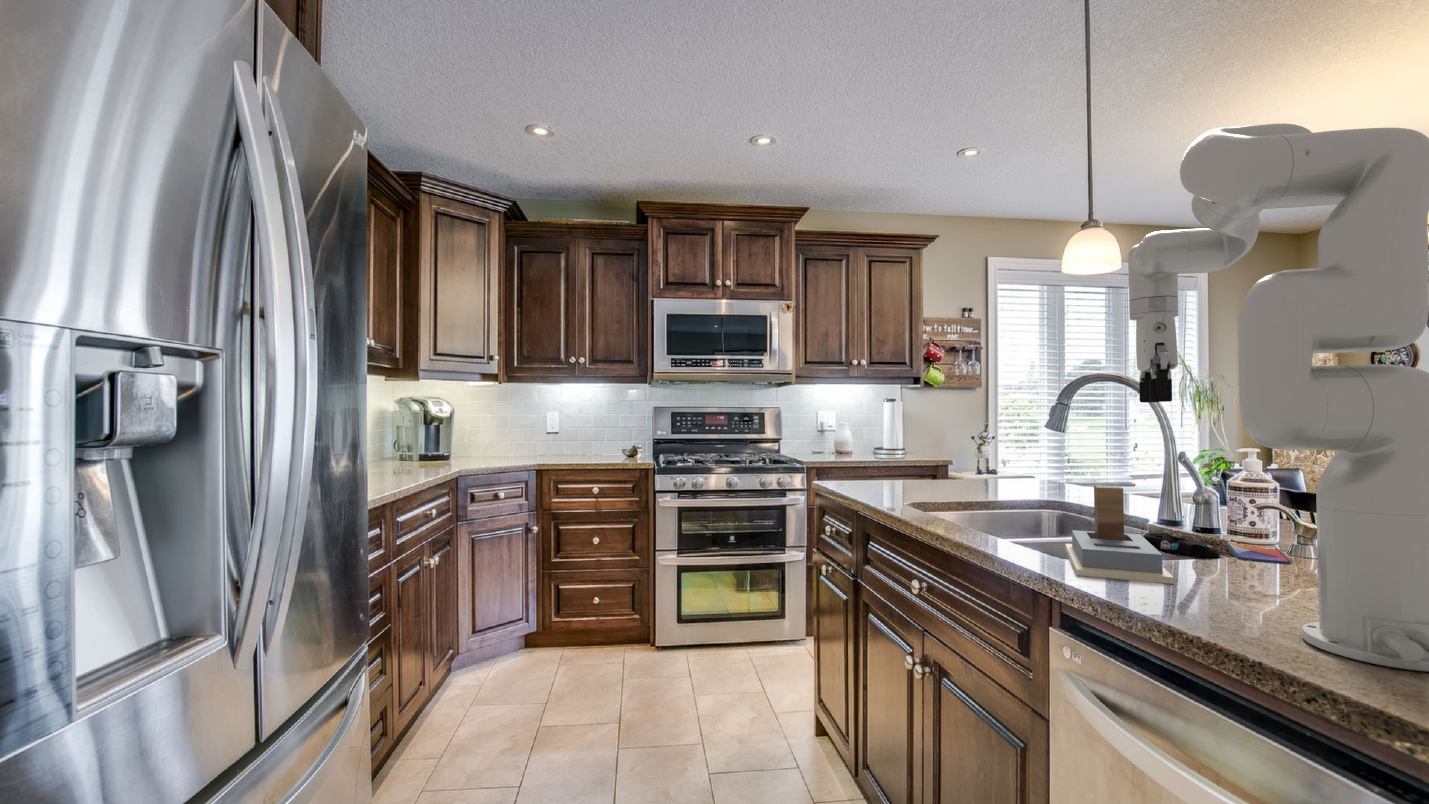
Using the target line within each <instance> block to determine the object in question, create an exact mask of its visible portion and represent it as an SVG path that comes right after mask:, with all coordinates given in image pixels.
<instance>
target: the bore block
mask: <svg viewBox="0 0 1429 804" xmlns="http://www.w3.org/2000/svg"><path fill="white" fill-rule="evenodd" d="M1142 535H1143V534H1140V533H1139V534H1137V533H1125V532H1124V541H1120V540H1105V539H1095V531H1088V530H1076V529H1075V530H1074V529H1071V541H1072V542H1071V543H1065V544H1064V545H1065V546H1064V547H1065V551H1066V553H1067V556H1068V558H1069V561H1070V562H1071V565H1072V568H1073V570H1074V572H1075V575H1076V576H1077V577H1078V576H1079V577H1080V576H1081V577H1088V578H1089V577H1092V578H1102V579H1103V578H1104V579H1113V580H1116V579H1117V580H1125V581H1137V582H1149V583H1160V584H1170V585H1172V584H1173V585H1174V583H1175V582H1174V580H1175V579H1174V576H1173V575H1172V574H1171V573H1170V572H1169V571H1168V570H1166V568H1165V567H1164V566H1163V553H1161V552H1160V550H1159V549H1156V548H1155V547H1154V546H1152V545H1151V544H1150V543H1149V542H1148V541H1147V540H1146V539H1145V538H1144V537H1143V536H1142Z"/></svg>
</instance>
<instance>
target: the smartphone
mask: <svg viewBox="0 0 1429 804" xmlns="http://www.w3.org/2000/svg"><path fill="white" fill-rule="evenodd" d="M1230 541H1231V540H1227V541H1225V546H1226V547H1227V549H1228V550H1229V551H1230V552H1231V553H1232V555H1233V556H1234V557H1235V558H1236V559H1237V560H1240V561H1247V560H1252V561H1251V562H1259V563H1261V562H1262V563H1263V562H1264V563H1265V562H1266V563H1268V564H1269V563H1273V564H1282V565H1283V564H1284V565H1290V564H1292V561H1291V559H1290V558H1289V557H1287V555H1286V554H1285V553H1283V552H1282V551H1281V550H1280V549H1279V548H1277V547H1276V548H1275V549H1264V548H1254V547H1249V546H1244V545H1240V544H1237V543H1234V542H1230Z"/></svg>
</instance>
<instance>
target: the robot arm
mask: <svg viewBox="0 0 1429 804" xmlns="http://www.w3.org/2000/svg"><path fill="white" fill-rule="evenodd" d="M1179 178H1180V182H1181V185H1182V187H1183V188H1184V189H1185V191H1187V192H1188V193H1190V194H1191V195H1193V197H1192V199H1191V210H1192V213H1193V215H1194V217H1195V219H1196V220H1197V221H1198V222H1199V223H1200V224H1201V225H1203V226H1204V227H1205V228H1189V229H1188V228H1185V229H1173V230H1172V229H1171V230H1159V231H1158V230H1157V231H1153V232H1151V233H1148V234H1146V235H1145V236H1144V237H1142V239H1141V240H1140V242H1139V243H1138V244H1136V245H1133V247H1131V248H1130V250H1129V251H1128V255H1127V256H1128V258H1127V259H1128V260H1127V263H1128V266H1127V267H1128V304H1129V305H1128V308H1129V309H1128V313H1129V314H1128V315H1129V316H1128V317H1129V318H1128V319H1129V320H1130V321H1135V322H1136V323H1135V326H1136V327H1135V346H1136V347H1135V348H1136V351H1135V352H1136V353H1135V354H1136V367H1137V370H1139V371H1140V373H1139V382H1138V383H1139V384H1138V386H1139V389H1138V390H1139V393H1138V395H1139V402H1140V403H1162V402H1163V403H1164V402H1166V403H1167V402H1168V403H1169V402H1172V400H1173V380H1172V371H1171V370H1174V369H1176V368H1177V367H1178V365H1179V355H1178V342H1177V329H1176V323H1175V317H1176V318H1177V317H1178V316H1179V282H1178V281H1179V277H1178V275H1179V274H1180V275H1181V274H1182V275H1183V274H1204V273H1205V274H1209V273H1216V272H1219V271H1222V270H1225V269H1227V268H1229V267H1231V266H1232V265H1234V264H1235V263H1236V262H1238V261H1239V260H1241V258H1242V257H1244V256H1245V255H1246V254H1247V253H1249V252H1250V251H1251V249H1252V248H1253V247H1254V245H1255V243H1256V240H1257V238H1258V234H1259V232H1260V226H1261V222H1260V221H1261V219H1260V215H1259V214H1260V213H1261V212H1262V211H1264V210H1272V209H1273V210H1274V209H1275V210H1276V209H1293V208H1294V209H1295V208H1305V207H1306V208H1307V207H1317V206H1319V207H1320V206H1334V205H1336V207H1334V209H1333V210H1332V211H1331V212H1330V213H1329V215H1327V216H1328V217H1327V218H1326V219H1325V220H1324V222H1323V224H1322V226H1321V228H1320V231H1319V234H1318V238H1317V251H1318V253H1317V254H1318V257H1317V258H1318V262H1317V263H1318V264H1317V268H1299V269H1298V268H1297V269H1296V268H1295V269H1286V270H1281V271H1276V272H1272V273H1269V274H1268V275H1265V276H1263V277H1262V278H1259V280H1258V281H1256V283H1255V284H1253V285H1252V287H1251V288H1250V289H1249V290H1248V292H1247V294H1246V295H1245V298H1244V300H1243V302H1242V305H1241V309H1240V313H1239V317H1238V386H1239V389H1238V391H1239V393H1238V394H1239V395H1238V396H1239V410H1240V416H1241V422H1242V425H1243V427H1244V430H1245V432H1246V433H1247V435H1248V436H1249V437H1250V439H1252V440H1253V441H1254V442H1255V443H1257V444H1258V445H1260V446H1262V447H1265V448H1269V449H1273V450H1274V449H1275V450H1286V451H1336V453H1335V454H1334V455H1333V457H1332V458H1331V460H1330V461H1329V462H1328V464H1327V465H1326V467H1325V468H1324V469H1323V471H1322V473H1321V475H1320V477H1319V480H1318V482H1317V486H1316V500H1315V501H1316V540H1317V541H1316V543H1317V545H1316V546H1317V575H1318V577H1317V580H1318V581H1317V583H1318V616H1319V618H1318V619H1319V620H1318V621H1314V622H1308V623H1305V624H1303V625H1302V626H1301V627H1300V631H1301V632H1300V633H1301V638H1302V639H1303V640H1304V641H1305V642H1306V643H1308V644H1309V645H1312V646H1314V647H1316V648H1318V649H1320V650H1323V651H1326V652H1328V653H1331V654H1335V655H1339V656H1341V657H1344V658H1349V659H1350V660H1351V659H1352V660H1356V661H1359V662H1364V663H1369V664H1373V665H1379V666H1384V667H1389V668H1396V669H1402V670H1410V671H1417V672H1429V372H1427V371H1426V370H1423V369H1420V368H1416V367H1413V366H1407V365H1399V364H1386V363H1385V364H1384V363H1379V364H1378V363H1377V364H1376V363H1373V364H1372V363H1369V364H1365V363H1364V364H1362V363H1361V364H1334V365H1313V359H1314V358H1313V357H1314V354H1342V353H1344V354H1348V353H1353V354H1354V353H1372V352H1375V353H1376V352H1384V351H1385V352H1387V351H1393V350H1398V349H1402V348H1404V347H1405V348H1406V347H1407V346H1410V345H1411V344H1413V343H1415V342H1416V341H1417V340H1419V338H1420V337H1422V335H1423V333H1424V332H1425V329H1426V327H1427V324H1428V319H1429V235H1428V233H1429V232H1428V224H1429V223H1428V220H1429V137H1428V136H1426V135H1425V134H1424V133H1422V132H1420V131H1419V130H1415V129H1411V128H1406V127H1405V128H1404V127H1369V128H1368V127H1367V128H1351V129H1350V128H1349V129H1339V130H1338V129H1337V130H1335V129H1334V130H1325V131H1318V132H1313V131H1311V130H1310V129H1309V128H1306V127H1304V126H1302V125H1297V124H1291V123H1268V124H1267V123H1266V124H1265V123H1264V124H1254V125H1241V126H1229V127H1226V126H1225V127H1218V128H1214V129H1210V130H1208V131H1206V132H1204V133H1203V134H1200V136H1198V137H1197V138H1196V139H1195V140H1194V141H1193V142H1192V143H1191V144H1190V145H1189V146H1188V147H1187V149H1186V151H1185V152H1184V155H1183V157H1182V159H1181V162H1180V168H1179Z"/></svg>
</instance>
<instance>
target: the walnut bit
mask: <svg viewBox="0 0 1429 804" xmlns="http://www.w3.org/2000/svg"><path fill="white" fill-rule="evenodd" d="M1093 496H1094V497H1093V499H1094V500H1093V501H1094V502H1093V503H1094V505H1093V508H1094V509H1093V511H1094V532H1095V539H1105V540H1120V541H1124V533H1125V517H1124V516H1125V512H1124V509H1125V508H1124V503H1125V502H1124V488H1123V487H1122V486H1120V485H1104V484H1103V485H1102V484H1101V485H1099V484H1096V485H1095V484H1094V485H1093Z"/></svg>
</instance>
